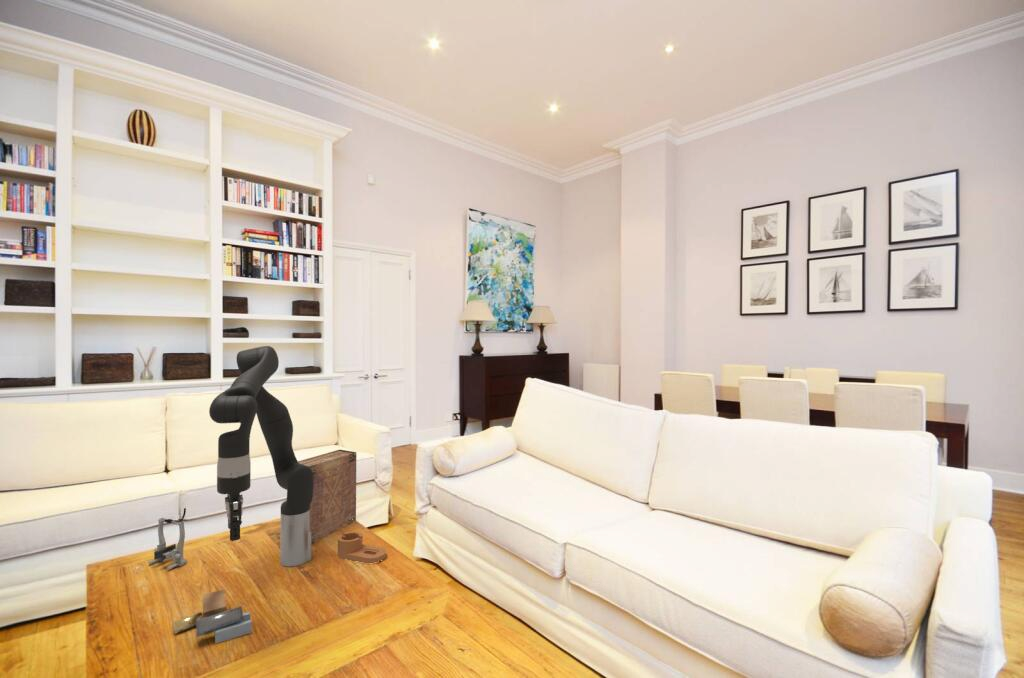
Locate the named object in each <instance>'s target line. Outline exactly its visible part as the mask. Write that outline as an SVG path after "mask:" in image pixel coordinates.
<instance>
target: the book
mask: <svg viewBox="0 0 1024 678" xmlns="http://www.w3.org/2000/svg"><path fill="white" fill-rule="evenodd" d="M297 461H298V463H300V464H303V465H306V466H308V467H310V468H311V470H312V472H313V476H314V485H313V499H312V502H311V504H310V531H311V545H312V544H315V543H316V542H318V541H320V540H322V539H324V538H326V537H327V536H330V535H331V534H333V533H336V532H337V531H339V530H341V529H343V528H345V527H347V526H349V525H351V524H353V523H354V521H355V522H356V521H357V451H352V450H344V449H337V450H333V451H329V452H326V453H323V454H320V455H316V456H313V457H307V458H305V459H301V460H297ZM352 519H353V520H352Z"/></svg>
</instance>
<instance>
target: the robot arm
mask: <svg viewBox="0 0 1024 678" xmlns="http://www.w3.org/2000/svg"><path fill="white" fill-rule="evenodd" d="M279 364H280V363H279V355H278V354H277V351H276V350H275V348H274V347H273V346H270V345H265V346H264V345H262V346H258V347H253V348H248V349H245V350H241V351H238V352H237V354H236V365H237V369H238V371H239V374H240V375H238V376H237V377H235V379H234V380H233V382H232V384H231V385H230V387H229V388H227V389H226V390H224V391H222V392H220V393H219V394H218V395H217V396H216V397H214V399H213V400H212V402H211V403H210V406H209V408H208V409H209V411H208V412H209V417H210V419H211V420H212V421H213V422H215V423H217V424H237V423H238V424H240V425H239V428H238V429H235V430H230V431H226V432H223V433H221V434H220V435H219V436H218V438H217V439H218V442H217V443H218V444H217V448H218V449H217V456H218V457H217V464H216V491H217V493H218V494H220V495H226V496H225V497H224V505H225V510H226V518H227V528H228V529H229V540H230V542H235V541H239V540H240V539H241V525H242V523H243V520H242V516H243V510H244V509H243V504H244V497H243V494H241V493H242V492H246V491H248V490H249V489H250V488H251V475H252V474H251V464H252V463H251V456H250V455H251V454H250V438H251V432H252V431H251V430H252V428H253V423H254V420H255V419H256V417H257V421H258V424H259V427H260V429H261V431H262V434H263V435H262V436H263V438H264V440H265V443H266V445H267V446H266V447H267V449H268V451H269V454H270V456H271V460H272V464H273V465H272V466H273V471H274V474H275V479H276V482H277V484H278V486H279V487H280V488H282V489H283V490H286V500H285V501H283V502H282V503H281V505H280V540H279V541H280V546H279V547H280V549H279V550H280V551H279V554H280V555H279V556H280V558H279V559H280V560H279V561H280V565H281V566H283V567H291V568H292V567H296V566H301V565H303V564H305V563H307V562H309V561H312V544H311V531H310V504H311V502H312V499H313V485H314V476H313V472H312V470H311V468H310V467H308V466H306V465H303V464H300V463H298V461H299V460H298V459H297V457H296V454H295V452H294V448H293V436H294V434H293V433H294V425H293V421H292V418H291V416H290V412H289V409H288V407H287V406H286V404H284V403H283V402H282V401H281V400H280V399H278V398H276V396H274V395H273V394H271V393H270V392H269V391H268V390H267V389H266V388H265V387H264V384H265V383H267V381H269V379H270V378H271V377H272V376H273V375H274V374H275V373H276V372H277V370H278V369H279Z"/></svg>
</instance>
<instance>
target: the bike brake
mask: <svg viewBox="0 0 1024 678" xmlns="http://www.w3.org/2000/svg"><path fill="white" fill-rule="evenodd" d="M186 512H187V508H186V507H183V514H182V517H181V519H172V518H166V517H161V518H159V519H157V521H158V525H157V536H158V545H157V546H156V548H154V549H153V551H154V553H153V555H154V559H152V560H149V561H148V562H147V563H148V565H152V564H154V563H157V562H161V563H163V562H165V561H167V560H170V559H172V563H173V564H171V565H167V566H166V570H168V571H169V570H171V569H174V568H176V567H183V566H184V565H185V564H186V563H187V561H188V560H187V558H184V545H185V537H186V534H185V533H186V532H185V522H184V519H185V517H186ZM164 523H167V524H172V525H176V526H178V529H179V538H178V542H177V544H176V543H173V544H171V545H169V546H167V542H166V538H165V535H164Z"/></svg>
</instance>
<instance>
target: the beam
mask: <svg viewBox="0 0 1024 678" xmlns="http://www.w3.org/2000/svg"><path fill="white" fill-rule="evenodd" d="M226 606H227V604H226V596H225V589H220V590H216V591H212V592H208V593H204V594H202V616H203V618H205V617H208V616H212V615H215V614H218V613H221V612H224V611H227V609H226V608H227V607H226Z"/></svg>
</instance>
